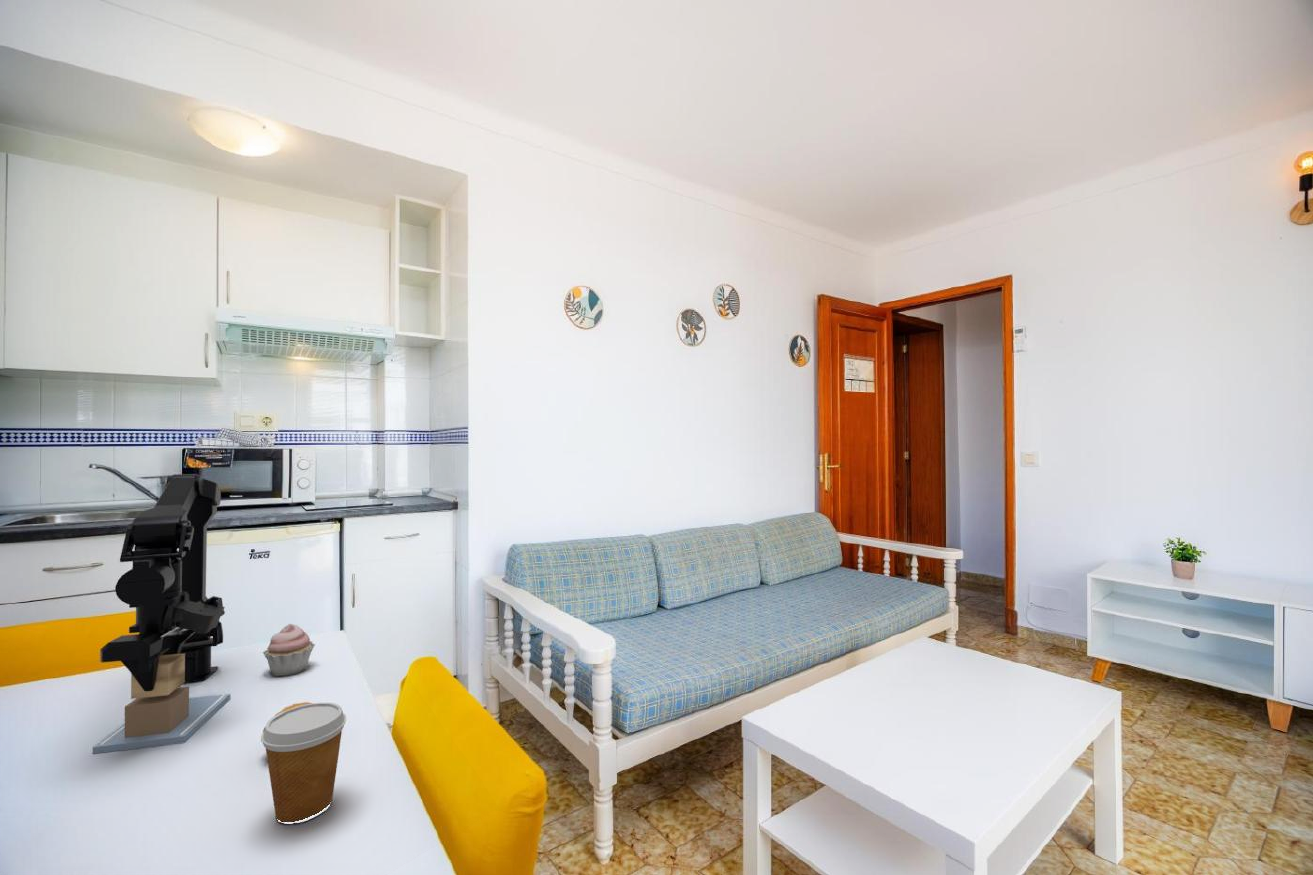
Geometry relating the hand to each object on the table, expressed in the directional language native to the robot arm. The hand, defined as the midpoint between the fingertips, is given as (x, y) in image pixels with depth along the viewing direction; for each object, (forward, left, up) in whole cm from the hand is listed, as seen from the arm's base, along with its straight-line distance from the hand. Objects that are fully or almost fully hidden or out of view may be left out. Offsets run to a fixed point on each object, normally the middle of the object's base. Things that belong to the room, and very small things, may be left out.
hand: (158, 684), depth 93 cm
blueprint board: (-3, 0, -8) cm, 9 cm away
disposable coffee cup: (+29, +30, -8) cm, 43 cm away
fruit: (+13, +24, -8) cm, 28 cm away
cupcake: (-23, +12, -8) cm, 27 cm away
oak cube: (0, 0, -1) cm, 1 cm away
